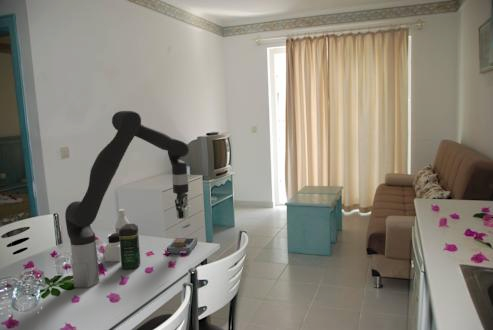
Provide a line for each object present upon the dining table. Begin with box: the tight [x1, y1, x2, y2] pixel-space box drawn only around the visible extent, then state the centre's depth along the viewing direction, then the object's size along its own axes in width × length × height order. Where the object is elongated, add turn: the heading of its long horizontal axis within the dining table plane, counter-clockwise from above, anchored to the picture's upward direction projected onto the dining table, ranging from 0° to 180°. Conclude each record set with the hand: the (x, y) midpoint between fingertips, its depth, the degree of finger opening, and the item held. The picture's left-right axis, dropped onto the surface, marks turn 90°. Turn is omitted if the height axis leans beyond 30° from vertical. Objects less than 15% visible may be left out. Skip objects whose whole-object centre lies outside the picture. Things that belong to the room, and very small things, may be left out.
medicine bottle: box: [103, 232, 121, 263], centre depth 185 cm, size 7×7×12 cm
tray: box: [166, 237, 198, 255], centre depth 196 cm, size 15×11×3 cm
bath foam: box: [115, 208, 131, 233], centre depth 199 cm, size 7×7×20 cm
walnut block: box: [174, 239, 186, 247], centre depth 193 cm, size 4×4×4 cm
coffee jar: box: [119, 223, 141, 270], centre depth 176 cm, size 10×8×19 cm
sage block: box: [176, 206, 189, 220], centre depth 197 cm, size 4×4×4 cm
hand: (182, 216), depth 197 cm, fingers closed on sage block, 4 cm apart
